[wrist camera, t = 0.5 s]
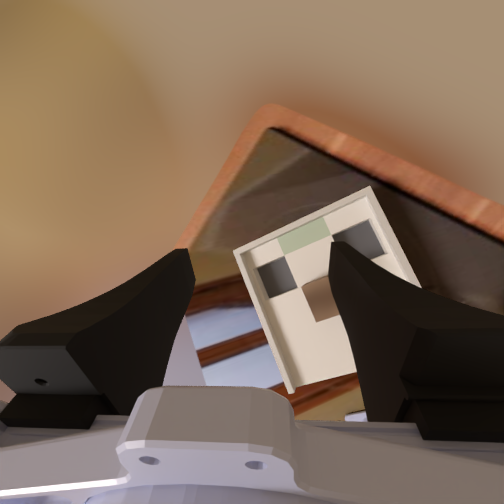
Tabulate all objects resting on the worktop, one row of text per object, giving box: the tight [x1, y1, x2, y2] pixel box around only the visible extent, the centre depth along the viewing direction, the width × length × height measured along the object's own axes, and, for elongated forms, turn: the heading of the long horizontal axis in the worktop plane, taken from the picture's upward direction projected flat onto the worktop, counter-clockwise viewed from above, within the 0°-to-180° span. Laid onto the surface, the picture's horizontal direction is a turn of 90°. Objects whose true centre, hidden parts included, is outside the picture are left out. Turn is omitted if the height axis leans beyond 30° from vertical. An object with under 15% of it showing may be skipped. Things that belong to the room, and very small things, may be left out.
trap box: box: [233, 186, 422, 394], centre depth 33 cm, size 21×20×4 cm
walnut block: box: [301, 275, 340, 323], centre depth 31 cm, size 4×4×4 cm
